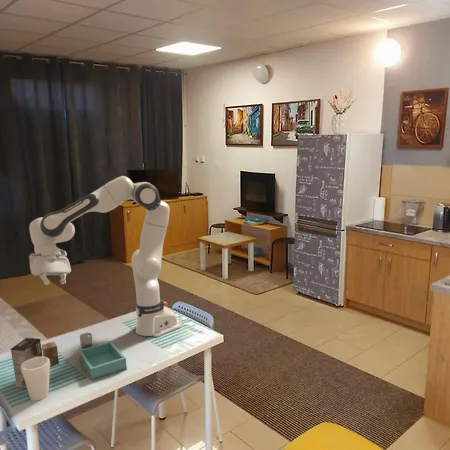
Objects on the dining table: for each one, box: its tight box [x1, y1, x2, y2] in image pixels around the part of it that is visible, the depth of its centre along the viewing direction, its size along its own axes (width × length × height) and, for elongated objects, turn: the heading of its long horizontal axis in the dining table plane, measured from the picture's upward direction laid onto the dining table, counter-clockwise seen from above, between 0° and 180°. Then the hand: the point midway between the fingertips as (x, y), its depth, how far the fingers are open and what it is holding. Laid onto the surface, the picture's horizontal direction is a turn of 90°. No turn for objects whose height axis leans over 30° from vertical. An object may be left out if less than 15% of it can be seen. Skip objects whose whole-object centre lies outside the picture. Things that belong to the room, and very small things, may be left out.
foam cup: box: [21, 355, 51, 402], centre depth 152 cm, size 10×9×13 cm
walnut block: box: [41, 341, 60, 367], centre depth 175 cm, size 5×5×8 cm
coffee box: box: [10, 337, 43, 389], centre depth 161 cm, size 9×6×16 cm
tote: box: [77, 340, 128, 381], centre depth 172 cm, size 14×18×5 cm
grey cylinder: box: [79, 332, 94, 350], centre depth 183 cm, size 5×5×8 cm
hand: (55, 284), depth 177 cm, fingers open, 8 cm apart
